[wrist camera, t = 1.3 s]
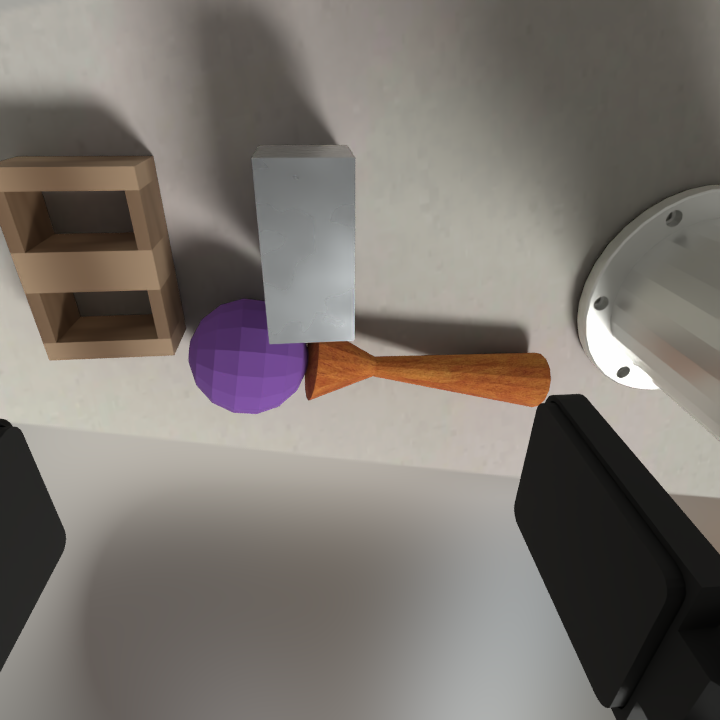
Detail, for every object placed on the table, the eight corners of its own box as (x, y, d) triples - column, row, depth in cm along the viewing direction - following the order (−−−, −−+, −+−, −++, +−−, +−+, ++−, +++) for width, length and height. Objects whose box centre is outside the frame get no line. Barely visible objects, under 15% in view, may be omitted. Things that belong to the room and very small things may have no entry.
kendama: (530, 449, 30) (182, 434, 24) (496, 380, 34) (195, 356, 29) (581, 378, 26) (182, 343, 21) (536, 311, 30) (197, 269, 25)
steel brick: (341, 135, 23) (355, 157, 17) (342, 280, 27) (354, 340, 21) (264, 135, 23) (251, 157, 17) (276, 282, 26) (269, 344, 20)
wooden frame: (153, 155, 23) (134, 166, 20) (186, 328, 27) (174, 355, 25) (16, 156, 22) (-21, 167, 20) (73, 332, 27) (49, 360, 24)
